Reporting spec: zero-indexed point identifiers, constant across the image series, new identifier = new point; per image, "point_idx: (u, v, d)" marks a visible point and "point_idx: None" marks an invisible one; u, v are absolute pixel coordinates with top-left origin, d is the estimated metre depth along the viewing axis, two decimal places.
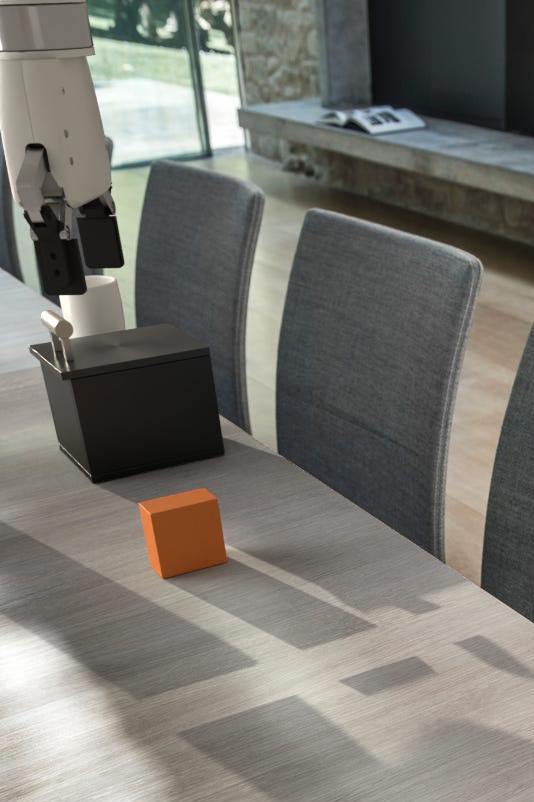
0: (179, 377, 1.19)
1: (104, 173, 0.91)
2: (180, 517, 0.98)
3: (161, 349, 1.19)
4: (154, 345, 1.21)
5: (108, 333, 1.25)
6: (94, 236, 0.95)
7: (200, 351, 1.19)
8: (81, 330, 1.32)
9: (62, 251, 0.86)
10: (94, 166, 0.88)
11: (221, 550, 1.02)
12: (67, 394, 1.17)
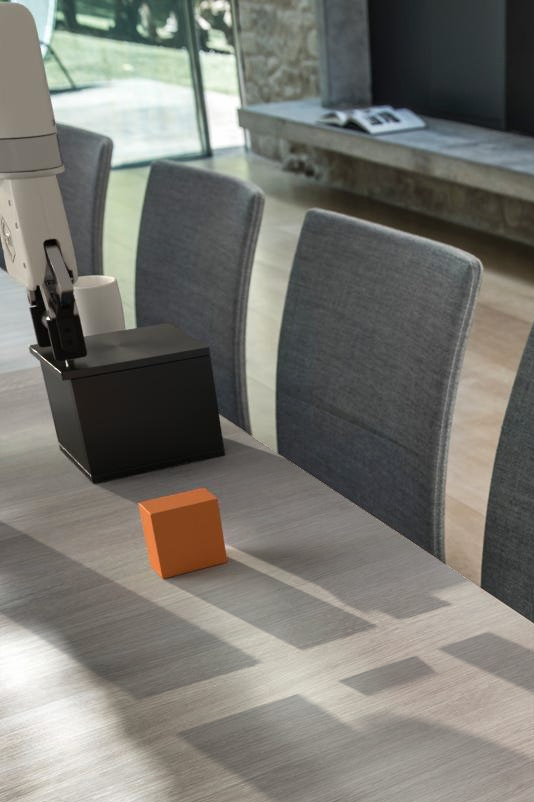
0: (179, 377, 1.19)
1: None
2: (180, 517, 0.98)
3: (161, 349, 1.19)
4: (154, 345, 1.21)
5: (108, 333, 1.25)
6: None
7: (200, 351, 1.19)
8: None
9: (74, 325, 1.13)
10: None
11: (221, 550, 1.02)
12: (67, 394, 1.17)
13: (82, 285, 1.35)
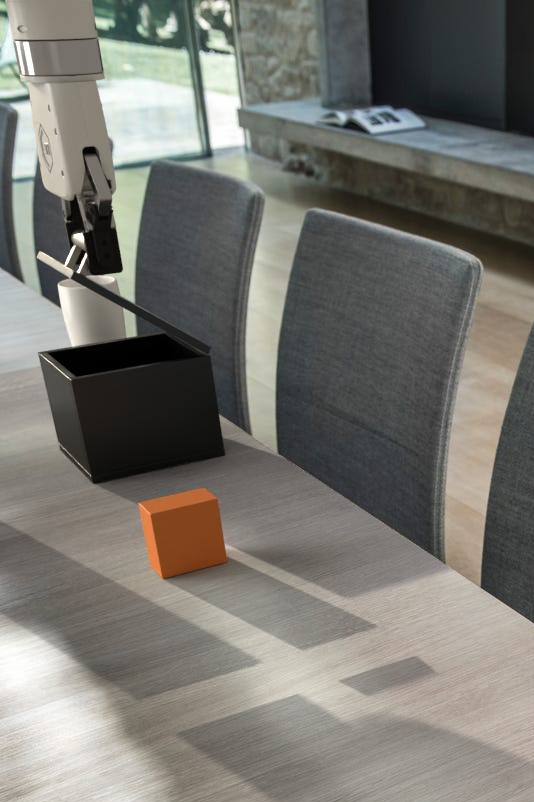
0: (179, 377, 1.19)
1: None
2: (180, 517, 0.98)
3: None
4: None
5: None
6: None
7: (202, 345, 1.19)
8: (81, 330, 1.32)
9: (110, 238, 1.12)
10: None
11: (221, 550, 1.02)
12: (67, 394, 1.17)
13: (82, 285, 1.35)
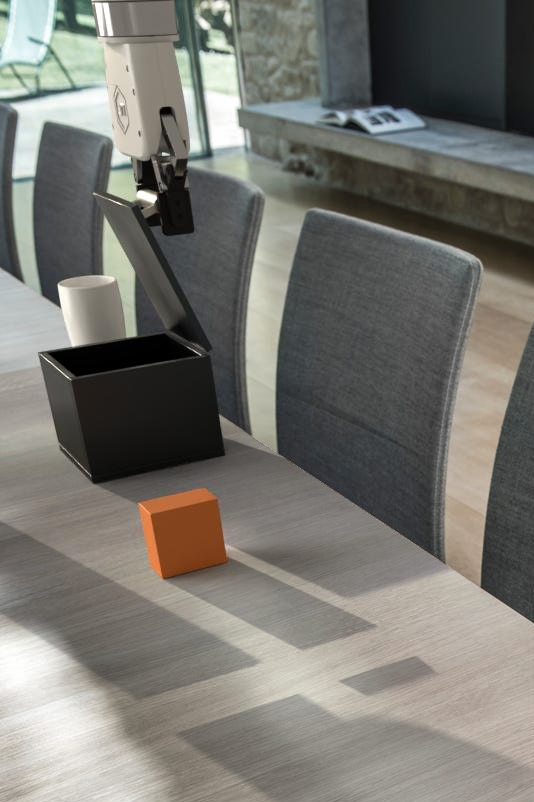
0: (179, 377, 1.19)
1: None
2: (180, 517, 0.98)
3: None
4: None
5: None
6: None
7: (206, 341, 1.19)
8: (81, 330, 1.32)
9: (184, 199, 1.14)
10: None
11: (221, 550, 1.02)
12: (67, 394, 1.17)
13: (82, 285, 1.35)
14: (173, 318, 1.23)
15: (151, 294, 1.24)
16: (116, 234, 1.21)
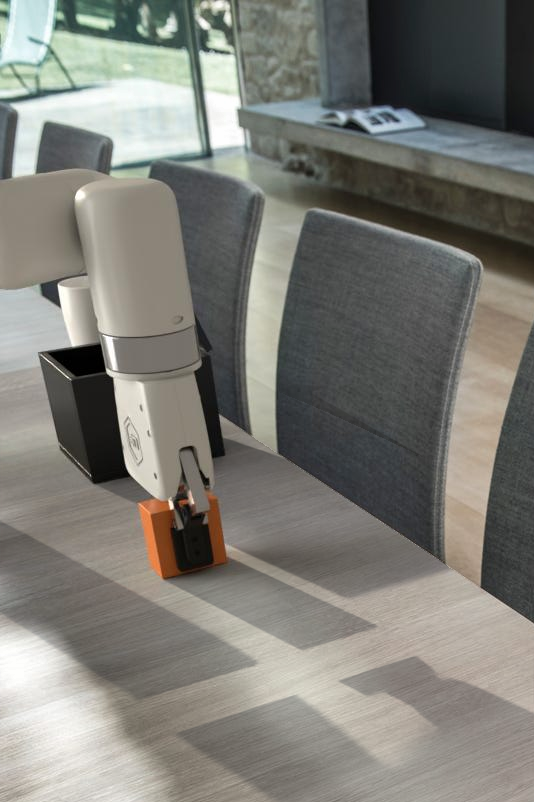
0: None
1: None
2: None
3: None
4: None
5: None
6: None
7: (206, 341, 1.19)
8: (81, 330, 1.32)
9: (202, 534, 0.98)
10: None
11: (221, 550, 1.02)
12: (67, 394, 1.17)
13: (82, 285, 1.35)
14: None
15: None
16: None
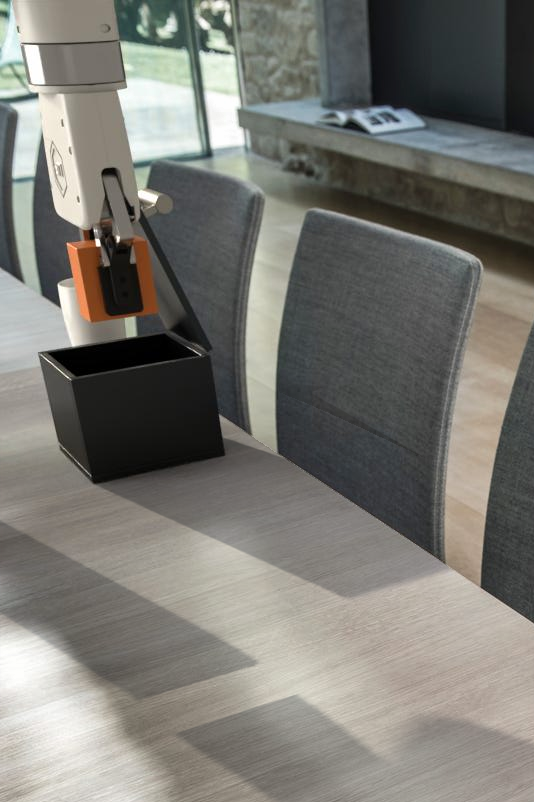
0: (179, 377, 1.19)
1: None
2: None
3: None
4: None
5: None
6: None
7: (206, 341, 1.19)
8: (81, 330, 1.32)
9: (130, 274, 0.97)
10: None
11: (152, 298, 1.00)
12: (67, 394, 1.17)
13: None
14: (173, 318, 1.23)
15: None
16: None
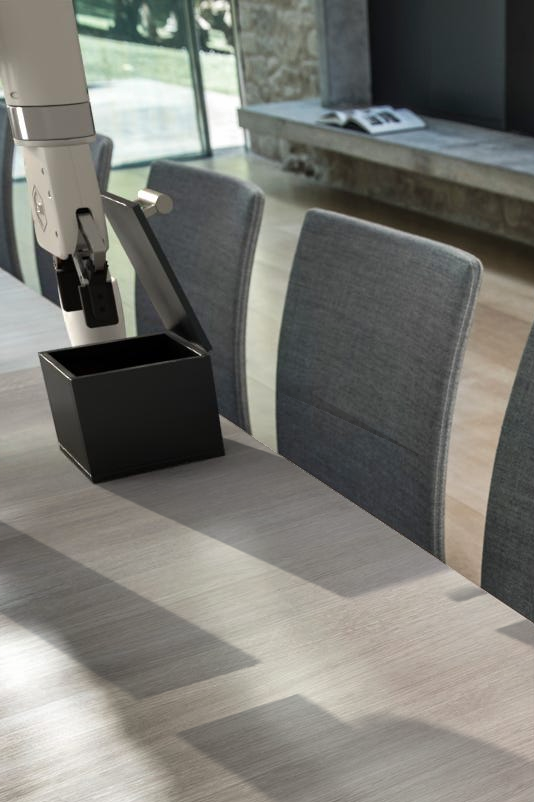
0: (179, 377, 1.19)
1: None
2: None
3: None
4: None
5: None
6: (72, 285, 1.19)
7: (206, 341, 1.19)
8: (81, 330, 1.32)
9: (106, 292, 1.13)
10: None
11: None
12: (67, 394, 1.17)
13: None
14: (173, 318, 1.23)
15: (151, 294, 1.24)
16: (117, 234, 1.21)
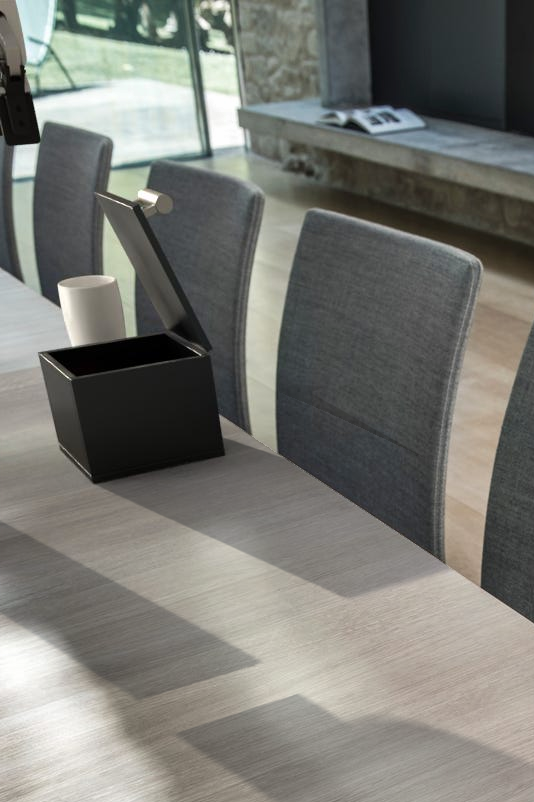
0: (179, 377, 1.19)
1: None
2: None
3: None
4: None
5: None
6: None
7: (206, 341, 1.19)
8: (81, 330, 1.32)
9: (25, 104, 1.04)
10: None
11: None
12: (67, 394, 1.17)
13: (82, 285, 1.35)
14: (173, 318, 1.23)
15: (151, 294, 1.24)
16: (117, 234, 1.21)
